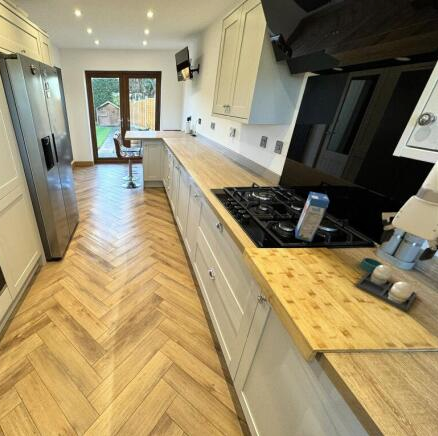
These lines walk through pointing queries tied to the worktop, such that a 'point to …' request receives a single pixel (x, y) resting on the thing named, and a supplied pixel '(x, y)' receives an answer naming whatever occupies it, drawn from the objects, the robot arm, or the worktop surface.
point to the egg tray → (383, 291)
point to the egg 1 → (381, 274)
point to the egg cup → (369, 264)
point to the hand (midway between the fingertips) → (402, 250)
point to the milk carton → (311, 216)
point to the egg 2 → (400, 292)
